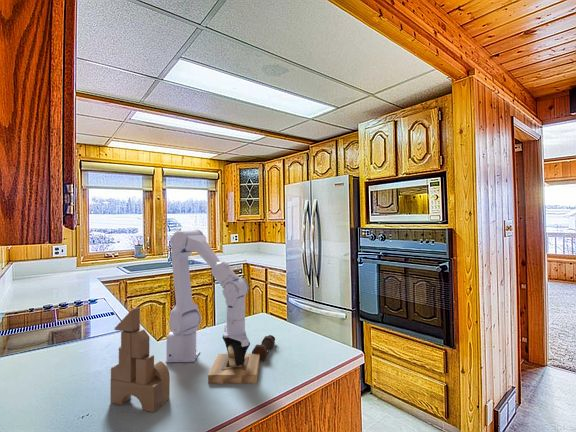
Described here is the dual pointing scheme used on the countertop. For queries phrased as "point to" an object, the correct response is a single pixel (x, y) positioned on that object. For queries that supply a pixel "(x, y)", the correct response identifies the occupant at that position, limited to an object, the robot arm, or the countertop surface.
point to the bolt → (264, 347)
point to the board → (234, 370)
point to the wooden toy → (138, 368)
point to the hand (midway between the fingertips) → (235, 361)
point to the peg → (231, 357)
